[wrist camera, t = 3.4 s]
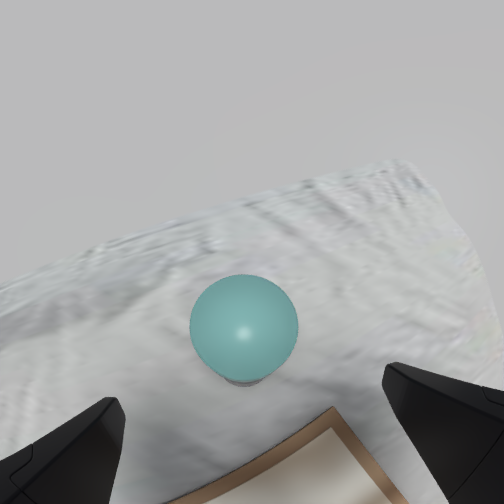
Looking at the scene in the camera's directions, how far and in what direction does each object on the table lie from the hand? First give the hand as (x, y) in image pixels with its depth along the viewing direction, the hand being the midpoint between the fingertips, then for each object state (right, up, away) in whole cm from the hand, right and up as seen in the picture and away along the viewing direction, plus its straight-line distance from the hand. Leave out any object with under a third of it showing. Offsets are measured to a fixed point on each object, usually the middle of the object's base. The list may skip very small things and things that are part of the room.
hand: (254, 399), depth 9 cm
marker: (-1, -3, +11) cm, 11 cm away
